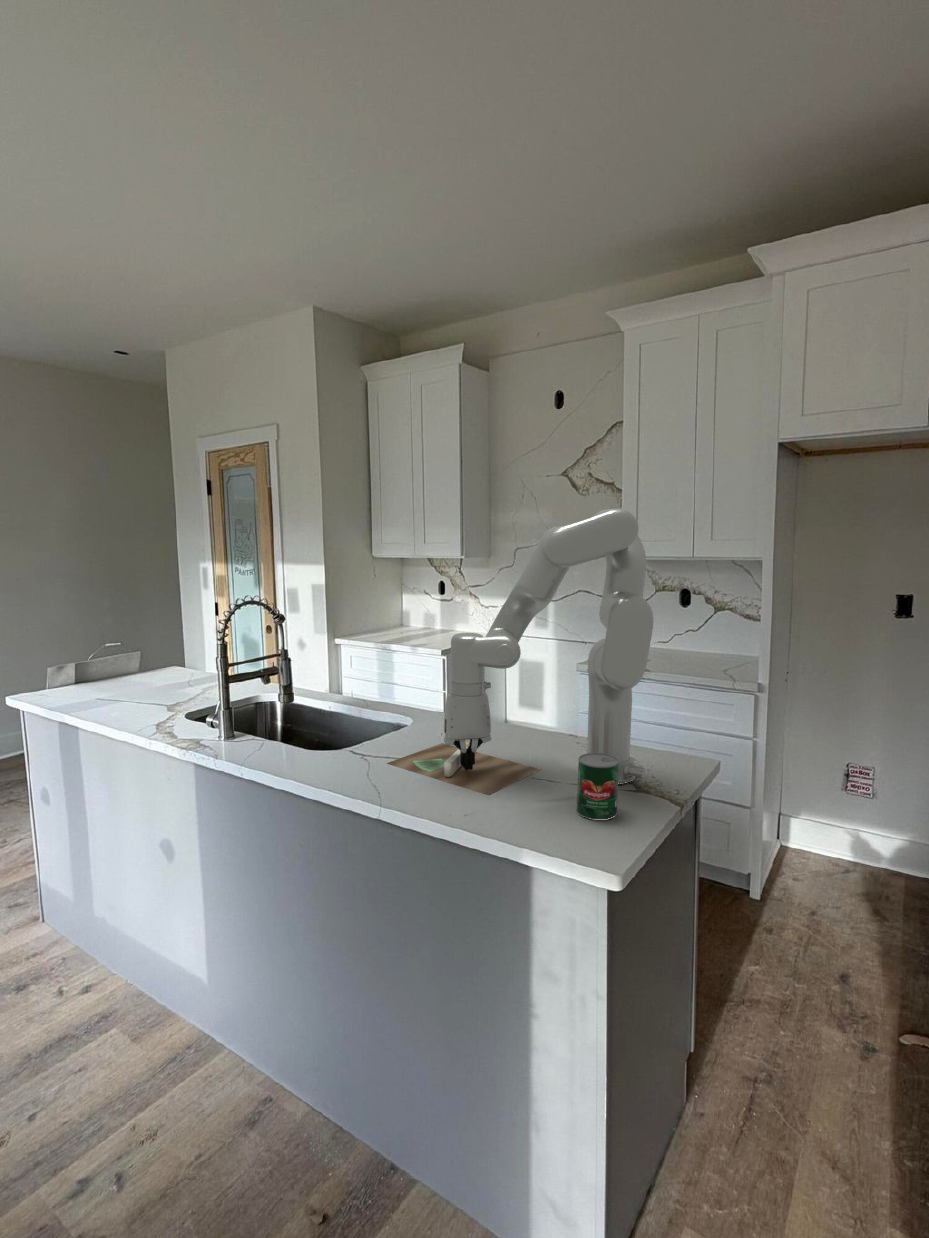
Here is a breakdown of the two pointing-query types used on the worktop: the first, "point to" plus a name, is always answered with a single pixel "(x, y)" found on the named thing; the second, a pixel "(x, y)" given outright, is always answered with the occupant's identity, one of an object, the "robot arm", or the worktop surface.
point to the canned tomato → (597, 785)
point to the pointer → (453, 762)
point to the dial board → (482, 778)
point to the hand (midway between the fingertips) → (467, 767)
